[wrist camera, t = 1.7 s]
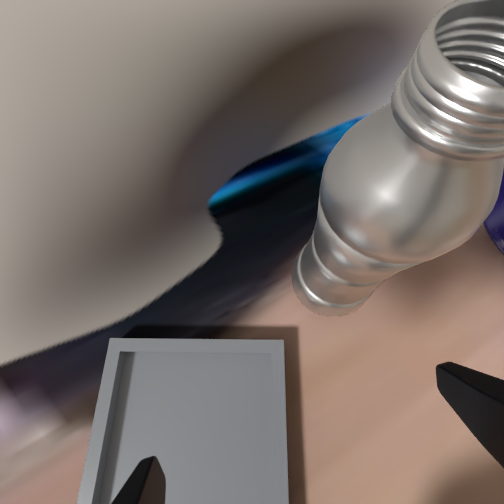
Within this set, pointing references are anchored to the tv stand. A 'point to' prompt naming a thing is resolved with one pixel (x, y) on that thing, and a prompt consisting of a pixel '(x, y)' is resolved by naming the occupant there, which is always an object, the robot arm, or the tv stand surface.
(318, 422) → the tv stand surface
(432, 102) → the plastic bottle
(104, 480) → the grey tray
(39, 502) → the tv stand surface
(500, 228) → the dog bowl
